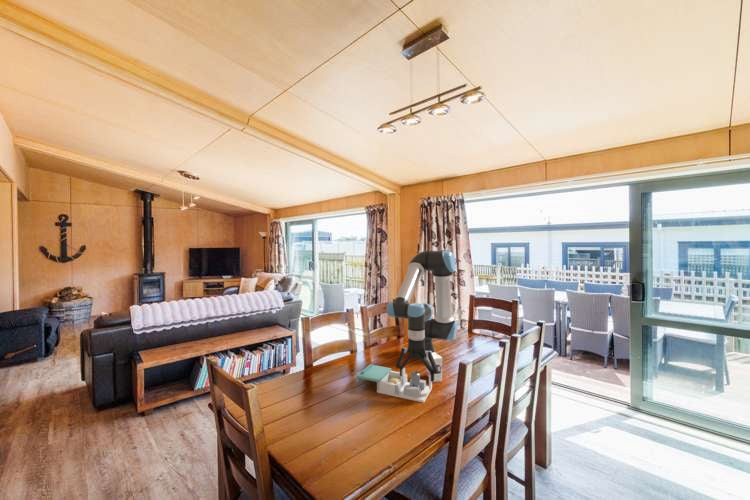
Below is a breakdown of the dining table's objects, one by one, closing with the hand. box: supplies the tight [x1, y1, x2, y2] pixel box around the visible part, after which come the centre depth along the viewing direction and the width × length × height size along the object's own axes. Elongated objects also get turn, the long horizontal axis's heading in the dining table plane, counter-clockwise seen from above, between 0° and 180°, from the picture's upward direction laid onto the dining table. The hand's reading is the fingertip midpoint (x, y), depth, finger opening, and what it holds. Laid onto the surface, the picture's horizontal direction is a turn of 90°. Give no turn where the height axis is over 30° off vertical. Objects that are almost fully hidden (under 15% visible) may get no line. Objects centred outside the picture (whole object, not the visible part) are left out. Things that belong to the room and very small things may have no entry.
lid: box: [355, 363, 392, 383], centre depth 152 cm, size 15×12×4 cm
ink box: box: [425, 351, 443, 383], centre depth 159 cm, size 8×5×12 cm, turn 17°
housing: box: [376, 370, 433, 404], centre depth 145 cm, size 14×22×5 cm, turn 66°
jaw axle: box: [410, 371, 421, 388], centre depth 143 cm, size 4×4×9 cm
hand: (416, 385), depth 143 cm, fingers open, 12 cm apart
